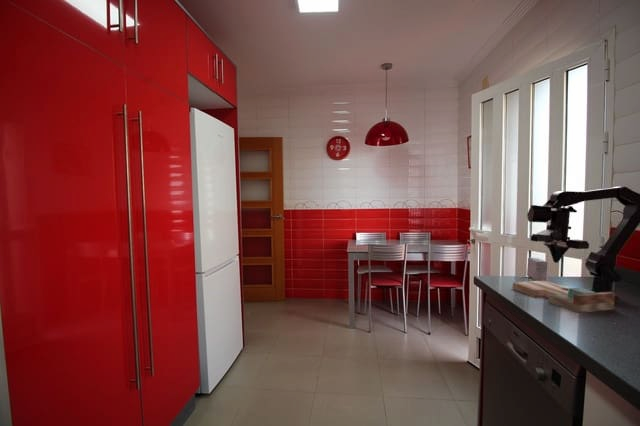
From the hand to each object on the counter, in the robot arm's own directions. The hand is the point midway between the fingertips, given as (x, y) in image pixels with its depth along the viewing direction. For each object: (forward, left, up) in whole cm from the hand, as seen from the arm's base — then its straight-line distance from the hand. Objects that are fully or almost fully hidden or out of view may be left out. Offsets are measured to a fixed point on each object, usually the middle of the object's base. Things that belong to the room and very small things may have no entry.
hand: (555, 262), depth 118 cm
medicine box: (-8, -14, -11) cm, 20 cm away
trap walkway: (+8, +8, -11) cm, 16 cm away
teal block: (+8, +16, -8) cm, 20 cm away
